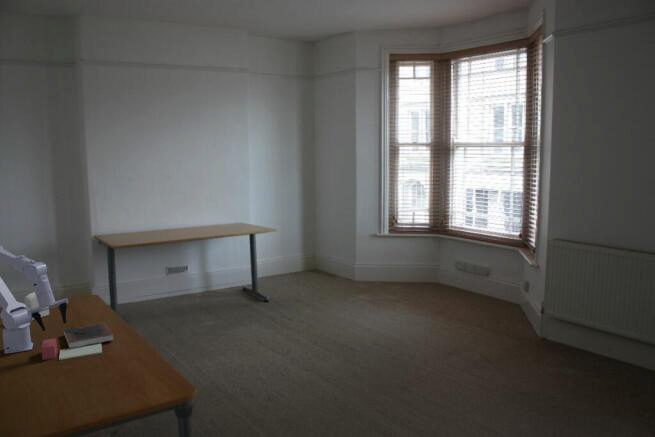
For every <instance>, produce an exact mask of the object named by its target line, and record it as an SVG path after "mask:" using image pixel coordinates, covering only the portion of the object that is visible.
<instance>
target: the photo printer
mask: <svg viewBox="0 0 655 437" xmlns="http://www.w3.org/2000/svg"><path fill="white" fill-rule="evenodd" d="M23 301H24V304H25V306H26V307H27V308H29V309H30V310H31V309H34V308H37V307H39V304H38V301H37V298H36V294H35V291H34V292H30V293H28V294H27V295H26V296H25V297H24V300H23ZM46 308H50V306H49V307H46ZM46 308H43V309H46ZM39 314H40V315H41V318H44V317H46V316H49V315H50V309H48V310H45V311H42V312H39ZM32 321H36V320H35V319H34V318H33V320H32Z"/></svg>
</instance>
